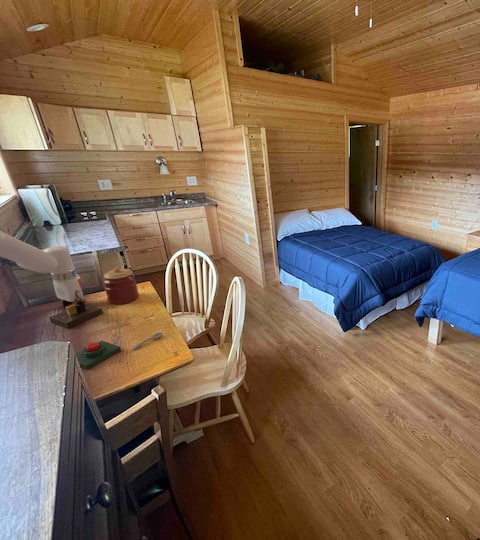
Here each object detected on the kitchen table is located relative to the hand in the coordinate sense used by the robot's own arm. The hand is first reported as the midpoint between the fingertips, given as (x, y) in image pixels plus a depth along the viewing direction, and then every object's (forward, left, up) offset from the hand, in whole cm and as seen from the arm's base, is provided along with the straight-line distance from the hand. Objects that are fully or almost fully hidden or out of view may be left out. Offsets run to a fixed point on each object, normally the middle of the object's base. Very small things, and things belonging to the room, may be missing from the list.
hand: (75, 310), depth 135 cm
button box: (-15, -34, -4) cm, 37 cm away
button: (-15, -34, -1) cm, 37 cm away
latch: (0, 0, -1) cm, 1 cm away
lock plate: (0, 0, -4) cm, 4 cm away
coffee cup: (+8, +14, -4) cm, 17 cm away
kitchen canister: (+21, 0, -4) cm, 21 cm away
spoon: (-1, -43, -4) cm, 43 cm away
